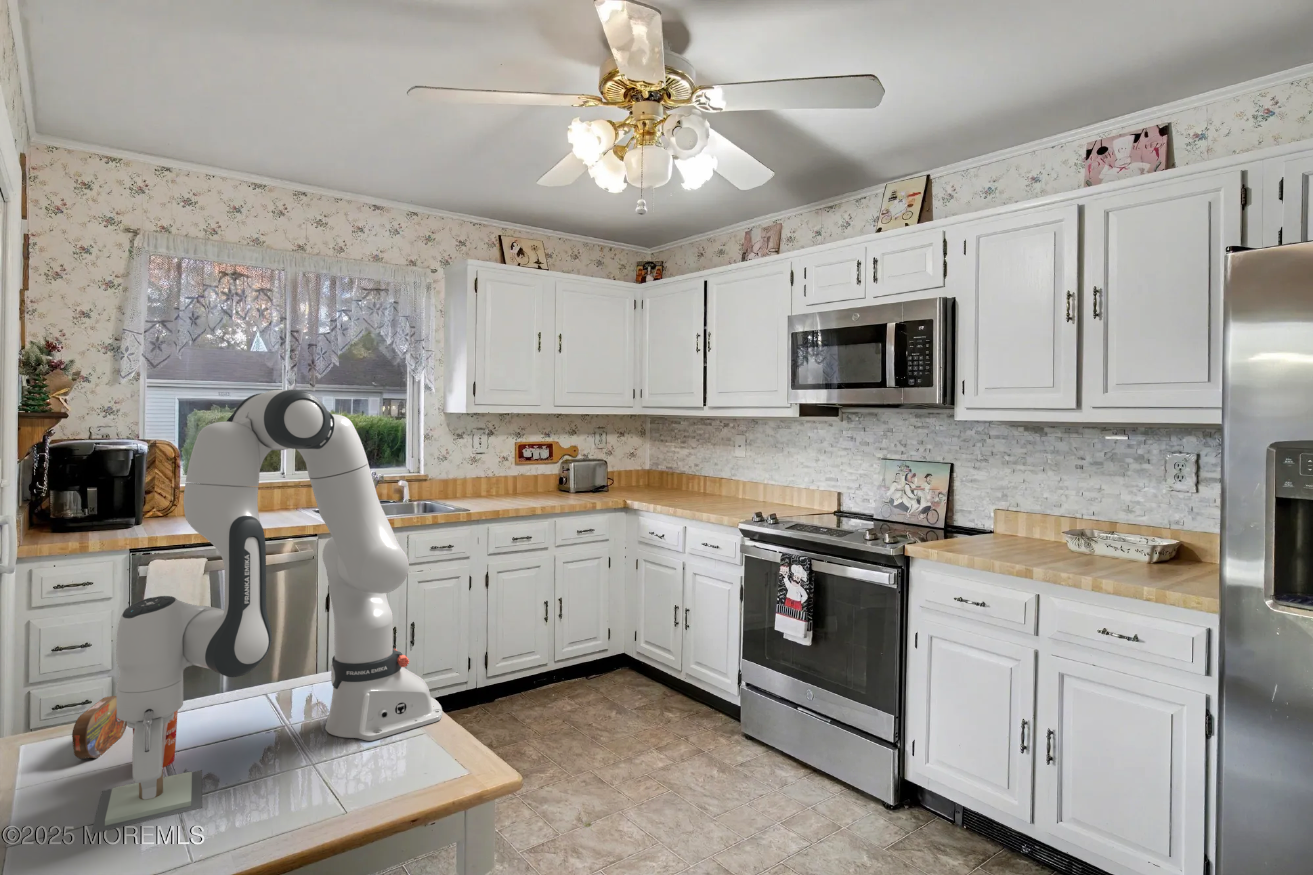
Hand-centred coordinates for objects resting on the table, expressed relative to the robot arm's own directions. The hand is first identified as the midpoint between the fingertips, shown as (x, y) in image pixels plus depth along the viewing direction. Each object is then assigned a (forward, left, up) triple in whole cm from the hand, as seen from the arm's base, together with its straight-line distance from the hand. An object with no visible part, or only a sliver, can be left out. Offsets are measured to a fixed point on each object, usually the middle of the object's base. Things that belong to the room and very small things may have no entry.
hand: (151, 783), depth 117 cm
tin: (+9, -27, -3) cm, 29 cm away
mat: (0, 0, -3) cm, 3 cm away
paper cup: (0, -14, -3) cm, 14 cm away
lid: (0, 0, -2) cm, 2 cm away
